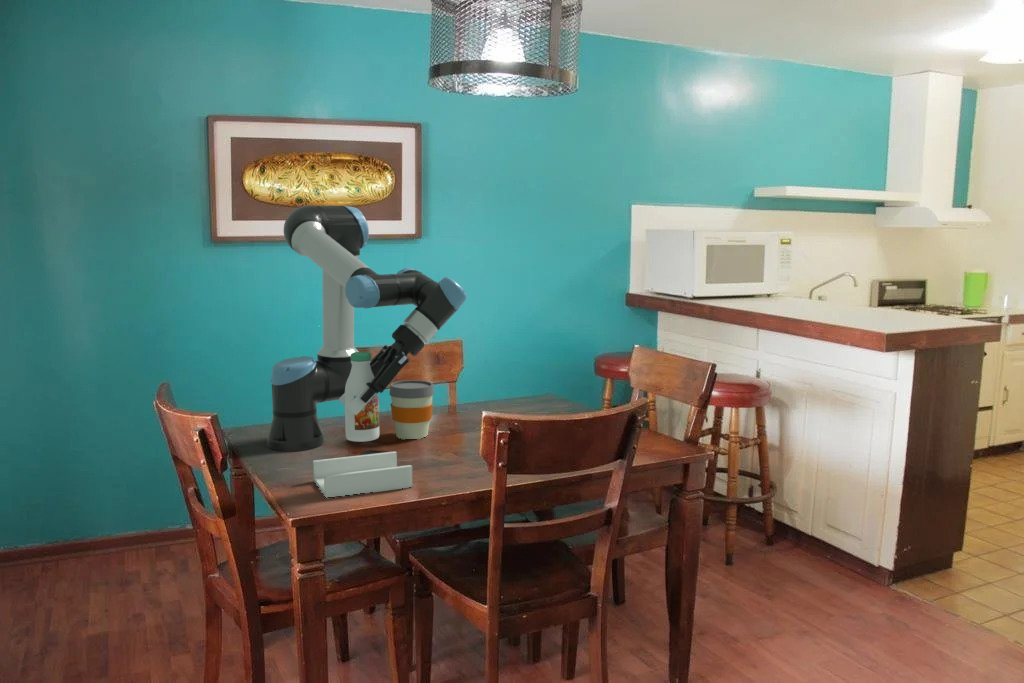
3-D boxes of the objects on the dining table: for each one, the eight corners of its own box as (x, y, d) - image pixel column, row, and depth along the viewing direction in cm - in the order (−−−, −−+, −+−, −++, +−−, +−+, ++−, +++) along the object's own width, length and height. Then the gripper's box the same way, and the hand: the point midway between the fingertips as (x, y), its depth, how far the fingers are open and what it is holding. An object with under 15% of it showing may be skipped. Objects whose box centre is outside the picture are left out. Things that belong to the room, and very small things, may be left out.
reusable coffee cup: (388, 441, 229) (388, 389, 226) (391, 430, 241) (390, 380, 239) (434, 441, 230) (433, 388, 228) (434, 429, 242) (433, 379, 240)
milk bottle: (342, 442, 187) (339, 355, 184) (349, 433, 194) (347, 350, 192) (375, 442, 186) (374, 355, 184) (382, 434, 194) (380, 350, 191)
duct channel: (313, 481, 194) (313, 460, 193) (395, 471, 202) (395, 451, 202) (325, 498, 182) (325, 476, 181) (412, 487, 190) (412, 466, 190)
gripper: (439, 350, 185) (370, 427, 180) (411, 338, 203) (348, 408, 199) (416, 328, 182) (345, 406, 177) (390, 318, 200) (325, 388, 196)
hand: (347, 407), depth 188 cm, fingers closed on milk bottle, 8 cm apart
